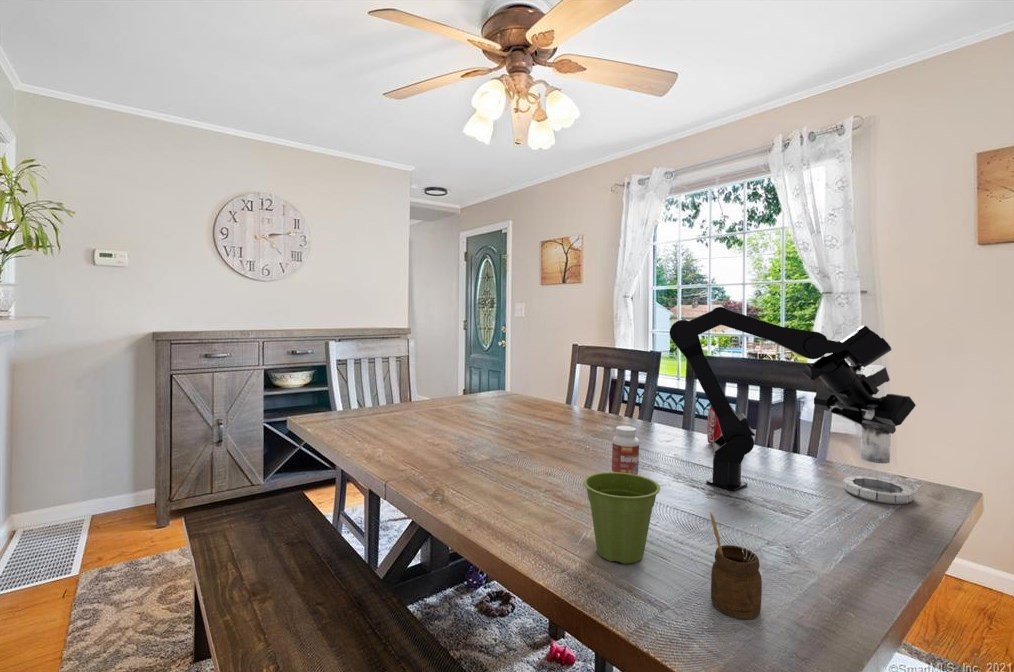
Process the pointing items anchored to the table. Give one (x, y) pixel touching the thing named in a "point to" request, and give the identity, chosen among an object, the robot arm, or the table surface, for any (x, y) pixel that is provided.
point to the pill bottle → (625, 451)
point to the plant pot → (621, 513)
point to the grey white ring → (878, 490)
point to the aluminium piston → (874, 440)
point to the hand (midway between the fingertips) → (881, 429)
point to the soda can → (713, 426)
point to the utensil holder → (736, 579)
